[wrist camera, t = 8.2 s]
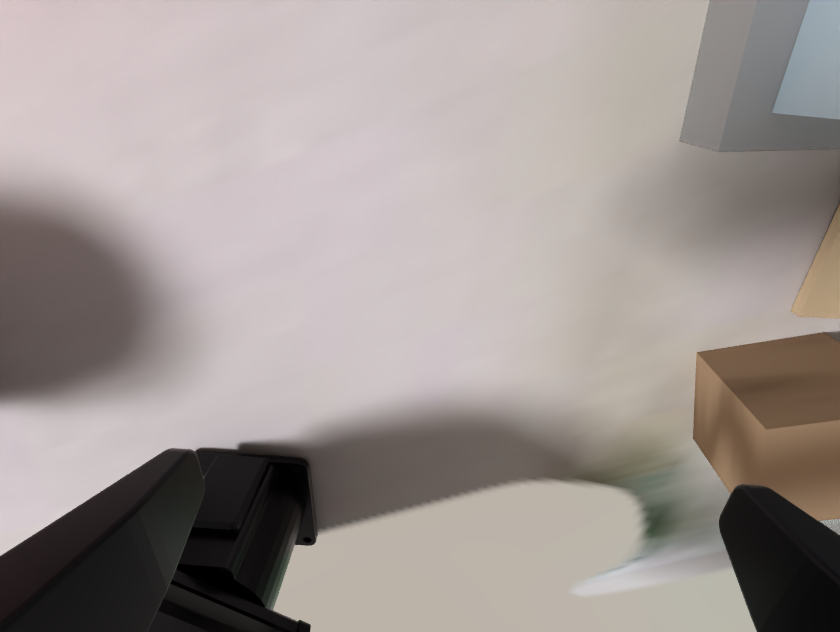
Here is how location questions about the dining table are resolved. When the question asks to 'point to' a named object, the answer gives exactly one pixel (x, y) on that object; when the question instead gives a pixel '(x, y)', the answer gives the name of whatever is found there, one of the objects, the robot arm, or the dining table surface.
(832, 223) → the tan flat square frame
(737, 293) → the dining table surface
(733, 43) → the base block
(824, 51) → the slate cube
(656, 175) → the dining table surface
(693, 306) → the dining table surface
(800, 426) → the walnut cube
